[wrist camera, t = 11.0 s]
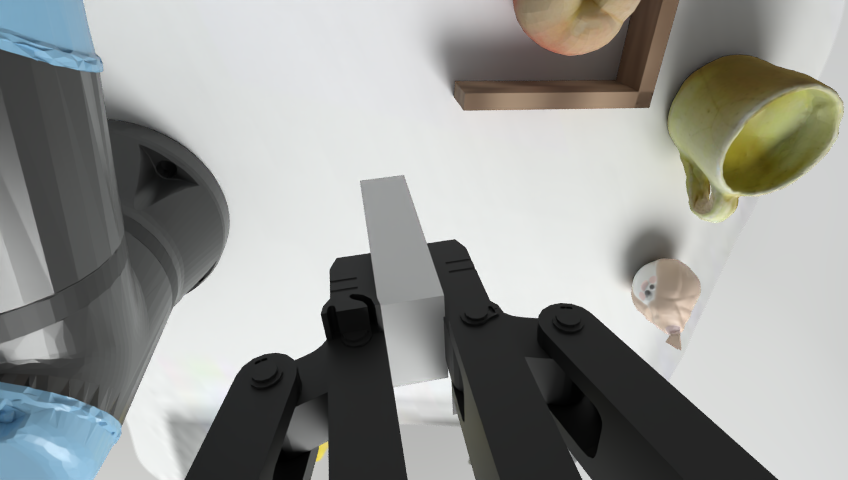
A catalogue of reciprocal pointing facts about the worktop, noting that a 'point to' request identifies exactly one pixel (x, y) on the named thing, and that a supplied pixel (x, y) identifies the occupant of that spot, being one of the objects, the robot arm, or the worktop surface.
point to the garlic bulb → (666, 295)
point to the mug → (749, 130)
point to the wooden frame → (625, 92)
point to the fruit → (572, 22)
